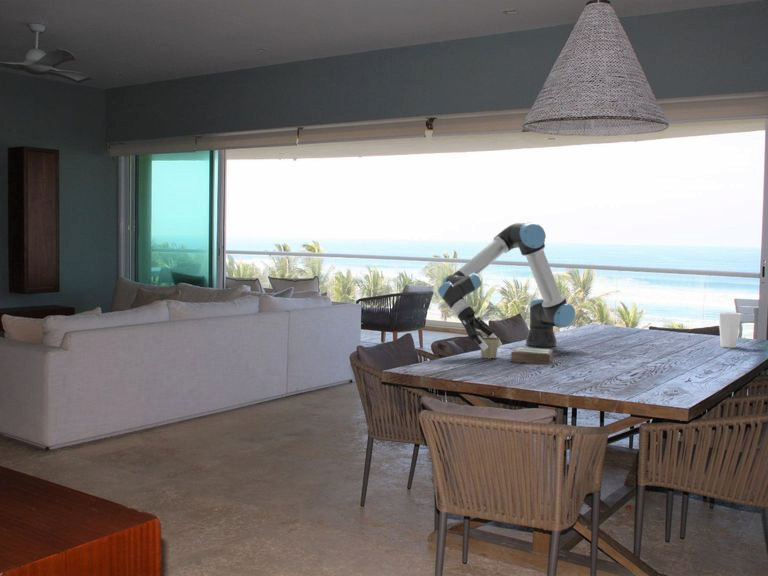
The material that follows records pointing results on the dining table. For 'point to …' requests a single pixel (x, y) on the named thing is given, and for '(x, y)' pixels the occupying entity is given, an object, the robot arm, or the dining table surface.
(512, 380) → the dining table surface
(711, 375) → the dining table surface
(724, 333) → the cup
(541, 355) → the brown flat square box
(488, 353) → the flower pot
